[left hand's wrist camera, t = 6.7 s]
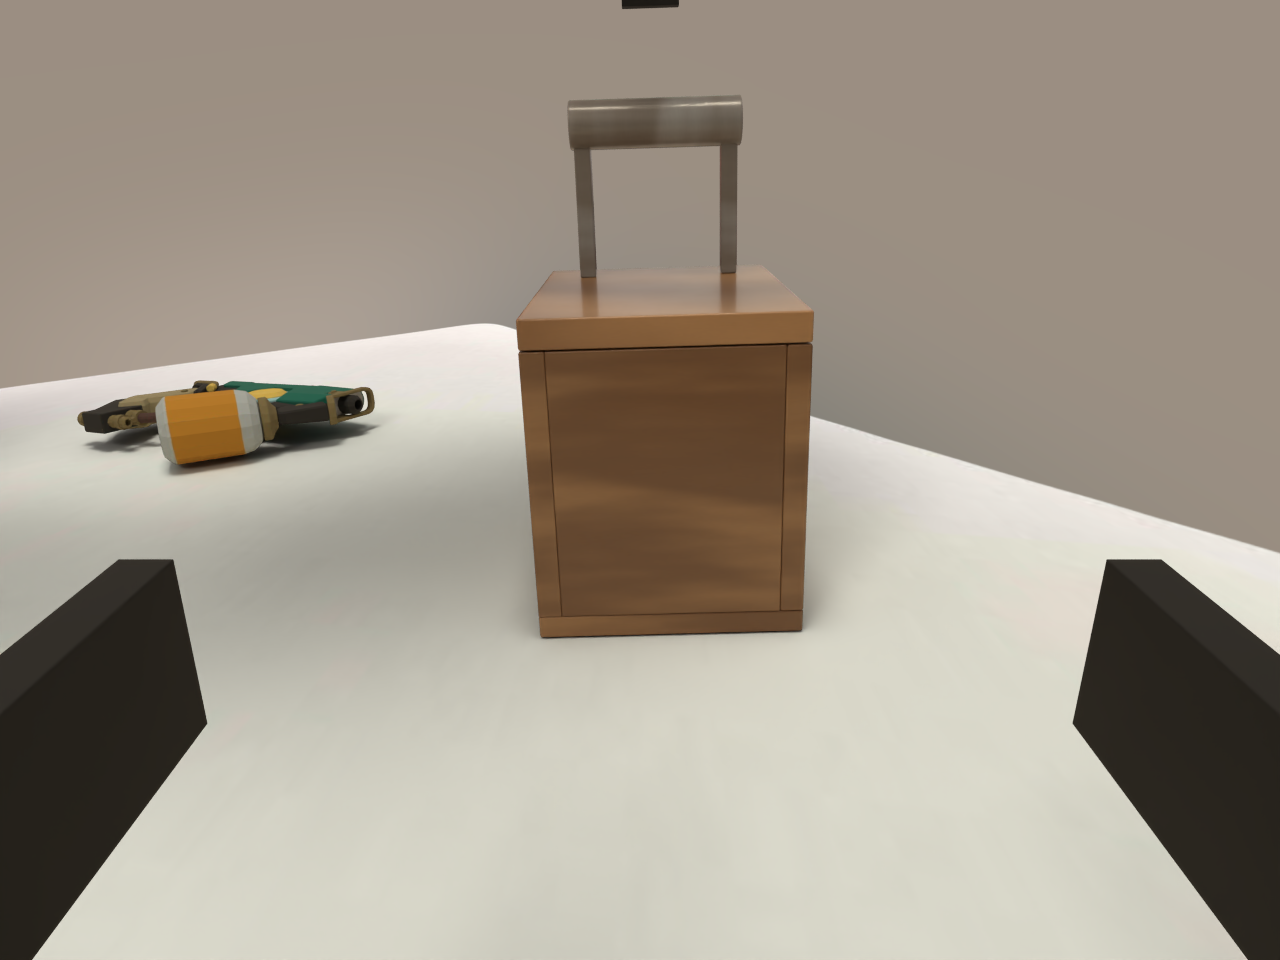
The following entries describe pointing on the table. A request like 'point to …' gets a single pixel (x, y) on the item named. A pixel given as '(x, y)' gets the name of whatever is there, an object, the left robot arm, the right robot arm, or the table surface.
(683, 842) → the table surface
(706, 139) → the lid
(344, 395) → the spray gun
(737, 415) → the chest
